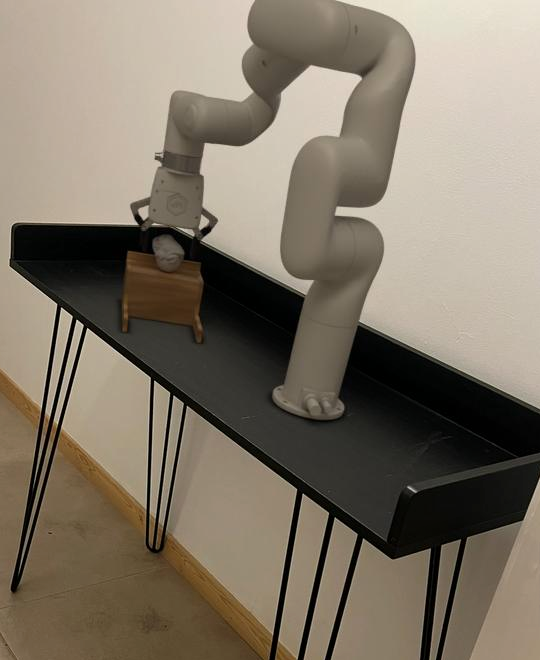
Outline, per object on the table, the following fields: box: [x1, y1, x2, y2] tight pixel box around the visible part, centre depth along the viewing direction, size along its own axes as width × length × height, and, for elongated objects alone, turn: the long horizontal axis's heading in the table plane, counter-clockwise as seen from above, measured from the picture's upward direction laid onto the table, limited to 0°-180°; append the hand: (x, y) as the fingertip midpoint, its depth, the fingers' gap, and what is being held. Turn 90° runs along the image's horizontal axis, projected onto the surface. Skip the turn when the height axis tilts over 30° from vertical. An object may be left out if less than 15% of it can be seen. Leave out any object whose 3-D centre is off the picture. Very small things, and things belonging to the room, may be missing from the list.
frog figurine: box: [151, 234, 185, 272], centre depth 168 cm, size 6×7×7 cm
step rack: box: [120, 250, 205, 344], centre depth 168 cm, size 20×15×10 cm
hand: (168, 254), depth 168 cm, fingers open, 9 cm apart
